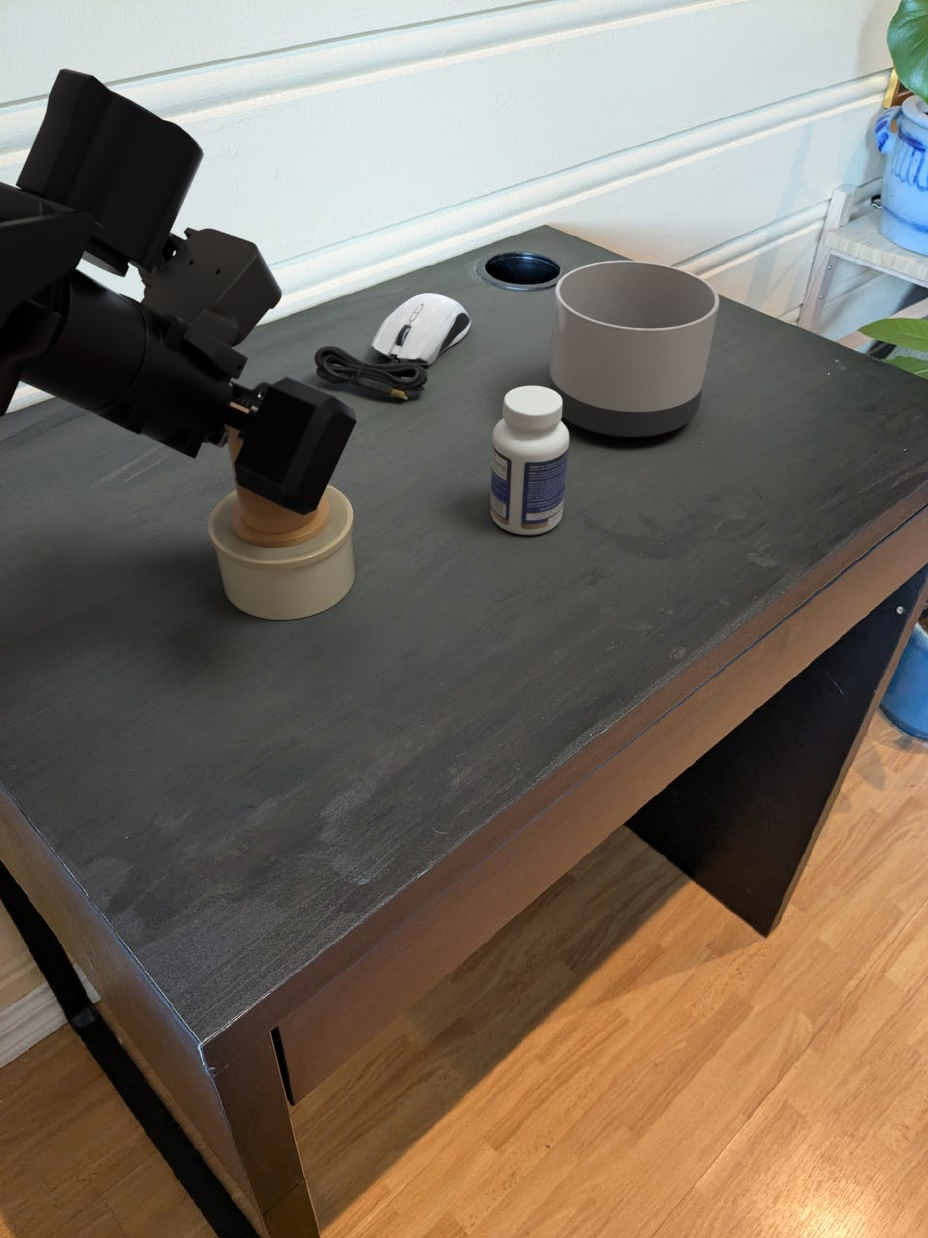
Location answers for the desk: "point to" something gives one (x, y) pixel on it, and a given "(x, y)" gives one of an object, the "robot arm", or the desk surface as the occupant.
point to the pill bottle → (529, 461)
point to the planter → (631, 346)
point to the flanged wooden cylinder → (270, 512)
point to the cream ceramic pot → (286, 565)
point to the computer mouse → (400, 347)
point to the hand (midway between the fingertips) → (288, 448)
